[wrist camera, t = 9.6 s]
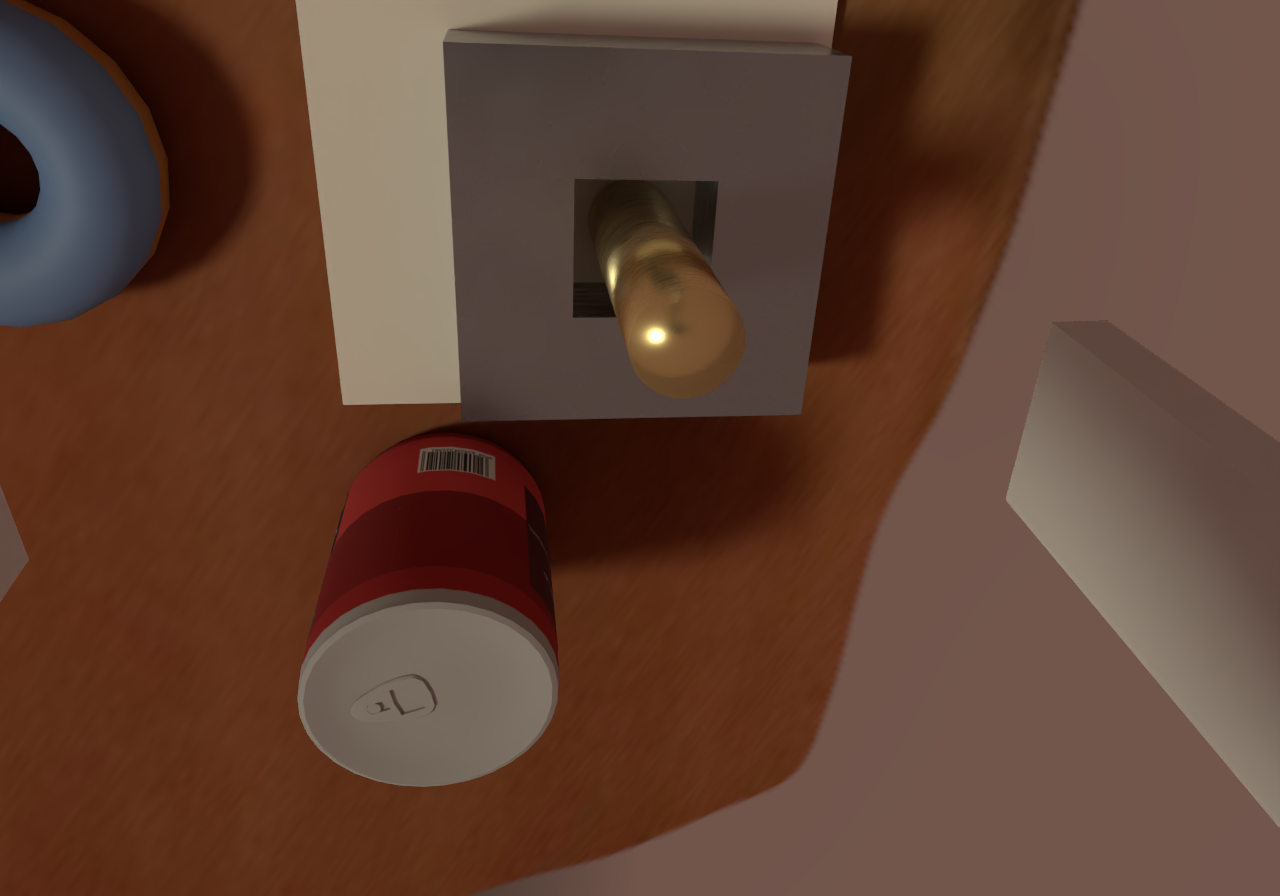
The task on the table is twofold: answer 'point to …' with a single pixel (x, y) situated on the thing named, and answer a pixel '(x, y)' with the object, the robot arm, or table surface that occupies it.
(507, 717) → the canned food
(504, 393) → the square hole block
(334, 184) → the mat
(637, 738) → the table surface
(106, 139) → the doughnut
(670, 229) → the pin
